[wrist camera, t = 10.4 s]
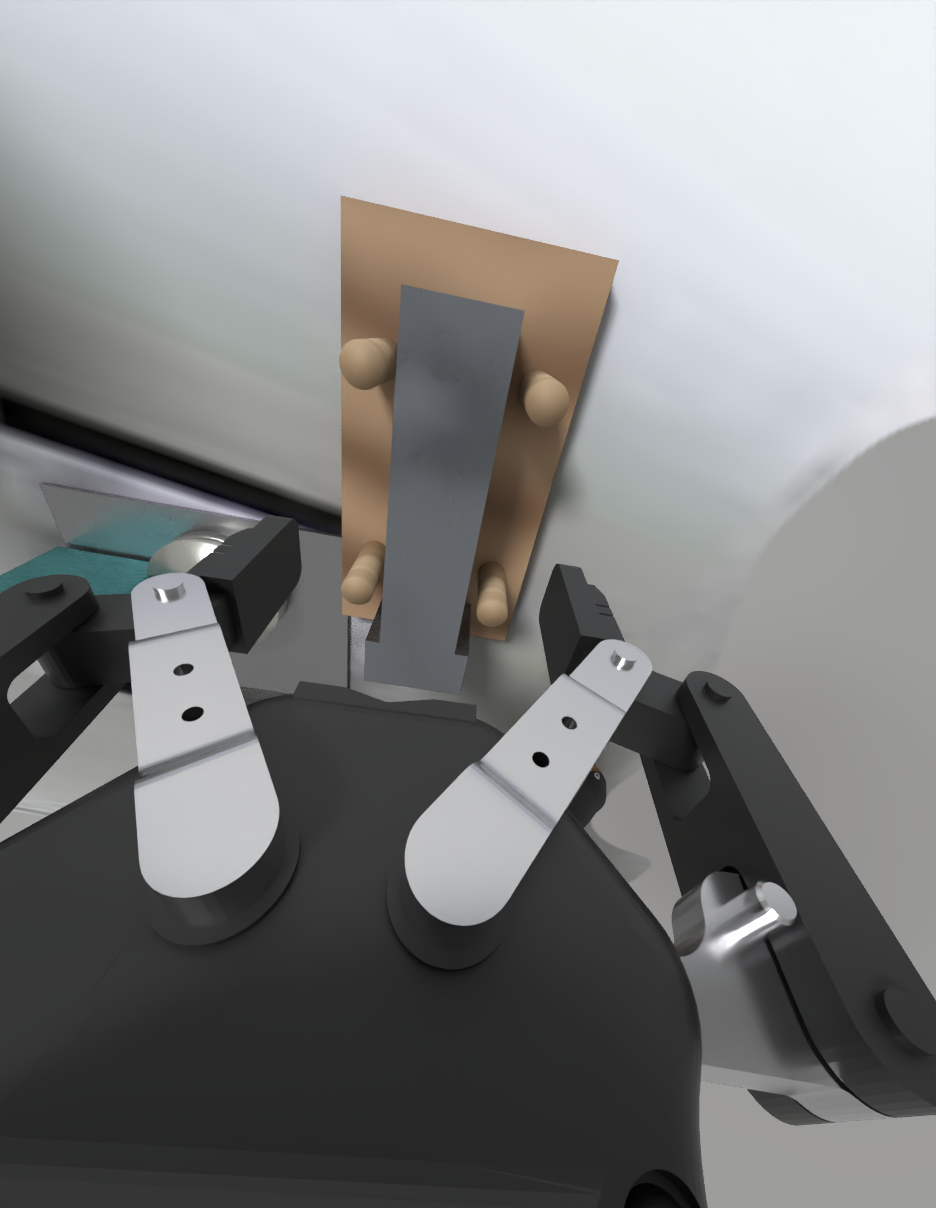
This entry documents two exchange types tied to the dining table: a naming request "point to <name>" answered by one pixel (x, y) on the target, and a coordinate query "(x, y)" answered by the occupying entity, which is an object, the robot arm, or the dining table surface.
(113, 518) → the gray base plate
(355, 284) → the peg rack
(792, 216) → the dining table surface
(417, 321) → the bar
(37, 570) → the teal handled round piece
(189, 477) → the dining table surface
